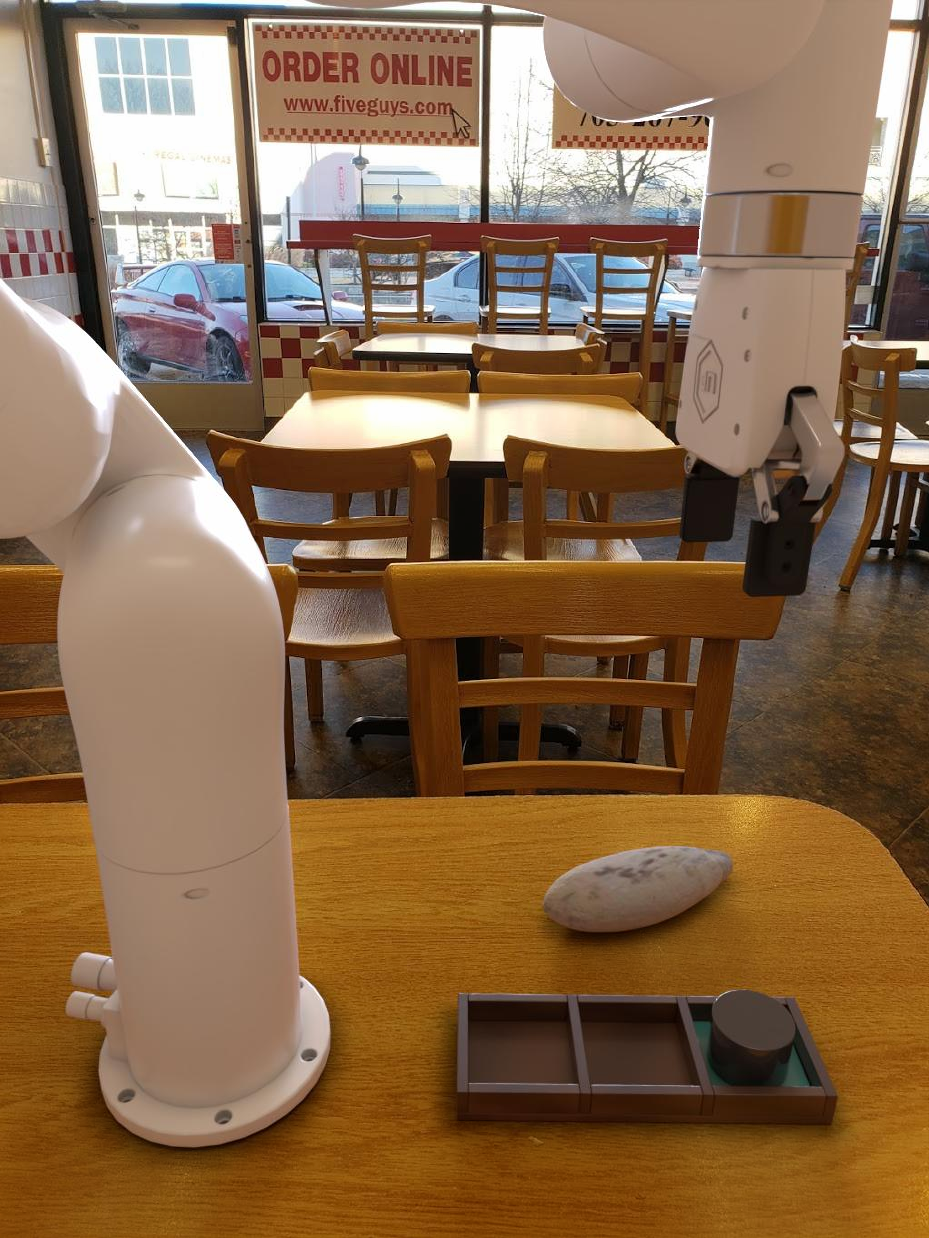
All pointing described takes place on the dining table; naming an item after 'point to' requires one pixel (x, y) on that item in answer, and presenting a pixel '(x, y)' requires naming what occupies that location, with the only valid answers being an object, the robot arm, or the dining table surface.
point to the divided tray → (619, 1063)
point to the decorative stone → (635, 887)
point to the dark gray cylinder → (750, 1039)
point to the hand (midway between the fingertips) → (736, 565)
